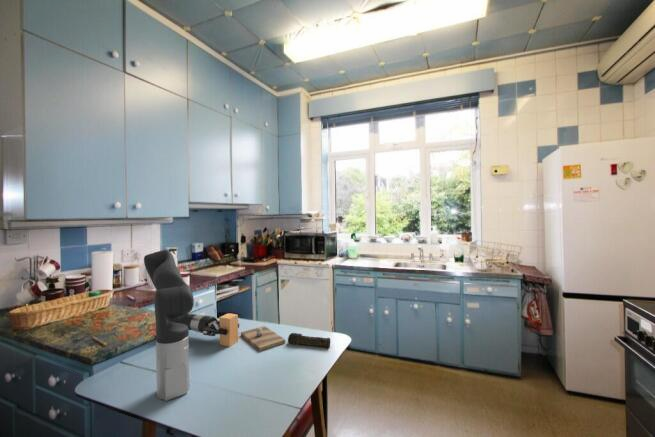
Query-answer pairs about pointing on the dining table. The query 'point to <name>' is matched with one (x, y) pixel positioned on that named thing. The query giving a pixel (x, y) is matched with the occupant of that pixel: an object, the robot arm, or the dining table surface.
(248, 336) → the jig plate
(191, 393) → the dining table surface
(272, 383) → the dining table surface
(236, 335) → the light orange rectangular block
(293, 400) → the dining table surface
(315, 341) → the dark brown rough bar
